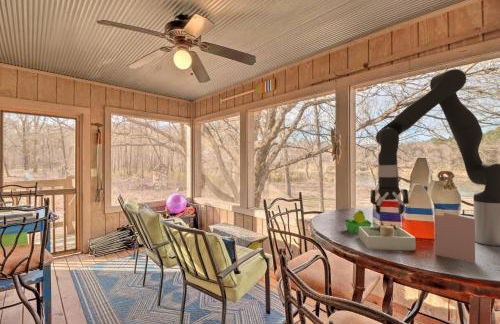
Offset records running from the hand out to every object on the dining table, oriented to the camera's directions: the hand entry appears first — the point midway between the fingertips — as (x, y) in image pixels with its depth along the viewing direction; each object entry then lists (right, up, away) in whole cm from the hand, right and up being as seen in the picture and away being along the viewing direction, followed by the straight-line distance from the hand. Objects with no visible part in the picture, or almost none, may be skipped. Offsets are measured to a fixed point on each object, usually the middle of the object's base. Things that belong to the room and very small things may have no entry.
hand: (389, 213), depth 111 cm
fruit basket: (-5, -13, +19) cm, 24 cm away
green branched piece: (-1, -12, +4) cm, 13 cm away
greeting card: (+15, -13, -16) cm, 25 cm away
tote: (-1, -13, +1) cm, 13 cm away
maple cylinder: (-2, -12, -2) cm, 12 cm away
